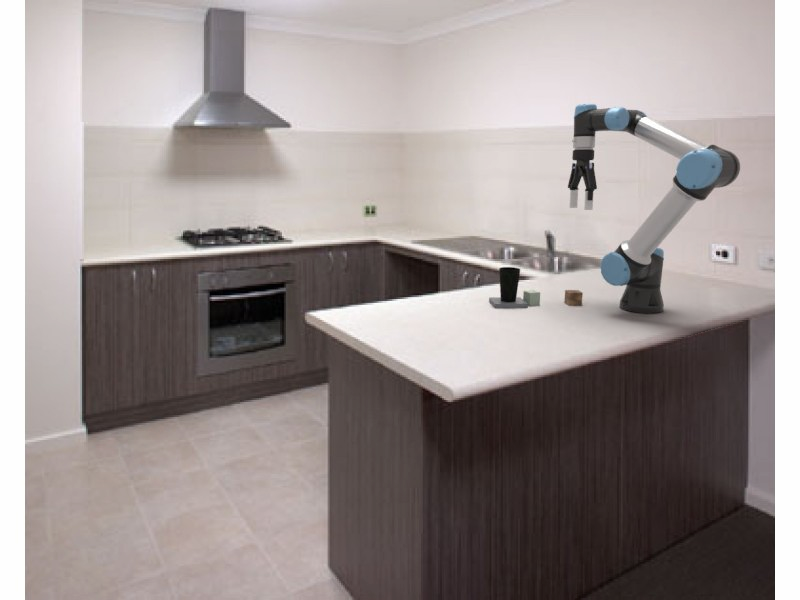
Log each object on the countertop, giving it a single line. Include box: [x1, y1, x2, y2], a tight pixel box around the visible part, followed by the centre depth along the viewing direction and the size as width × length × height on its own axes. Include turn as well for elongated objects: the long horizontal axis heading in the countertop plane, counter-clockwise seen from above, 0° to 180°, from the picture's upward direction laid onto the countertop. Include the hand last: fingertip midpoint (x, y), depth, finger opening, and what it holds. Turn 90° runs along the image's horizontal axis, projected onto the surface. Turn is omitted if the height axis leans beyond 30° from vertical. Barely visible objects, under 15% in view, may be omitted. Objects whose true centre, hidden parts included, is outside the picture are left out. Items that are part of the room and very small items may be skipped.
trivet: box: [488, 296, 529, 309], centre depth 237 cm, size 12×11×2 cm
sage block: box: [522, 289, 541, 307], centre depth 237 cm, size 4×4×5 cm
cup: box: [499, 266, 521, 302], centre depth 235 cm, size 8×8×12 cm
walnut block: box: [563, 289, 583, 307], centre depth 238 cm, size 5×5×5 cm
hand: (580, 208), depth 232 cm, fingers open, 13 cm apart
